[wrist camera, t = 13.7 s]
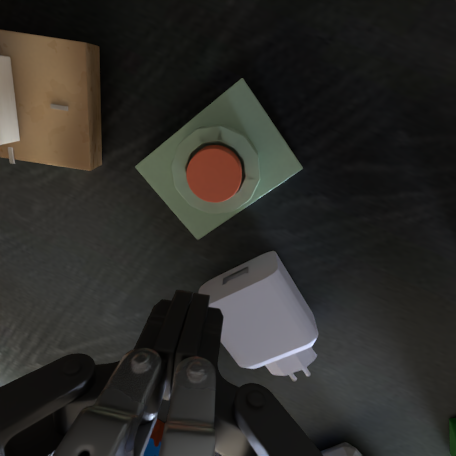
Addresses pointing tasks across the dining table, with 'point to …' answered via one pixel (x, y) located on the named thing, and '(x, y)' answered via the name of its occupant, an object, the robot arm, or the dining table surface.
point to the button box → (232, 139)
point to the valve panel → (55, 100)
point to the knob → (7, 104)
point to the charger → (264, 316)
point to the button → (214, 173)
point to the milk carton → (452, 436)
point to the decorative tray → (341, 450)
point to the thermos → (155, 439)
